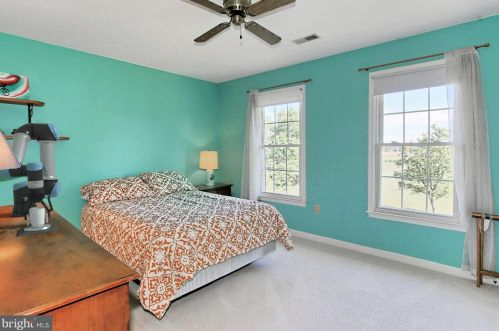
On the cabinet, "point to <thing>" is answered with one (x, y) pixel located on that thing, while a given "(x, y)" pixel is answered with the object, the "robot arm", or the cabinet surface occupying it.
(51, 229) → the duct collar
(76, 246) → the cabinet surface
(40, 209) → the white cup
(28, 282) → the cabinet surface
